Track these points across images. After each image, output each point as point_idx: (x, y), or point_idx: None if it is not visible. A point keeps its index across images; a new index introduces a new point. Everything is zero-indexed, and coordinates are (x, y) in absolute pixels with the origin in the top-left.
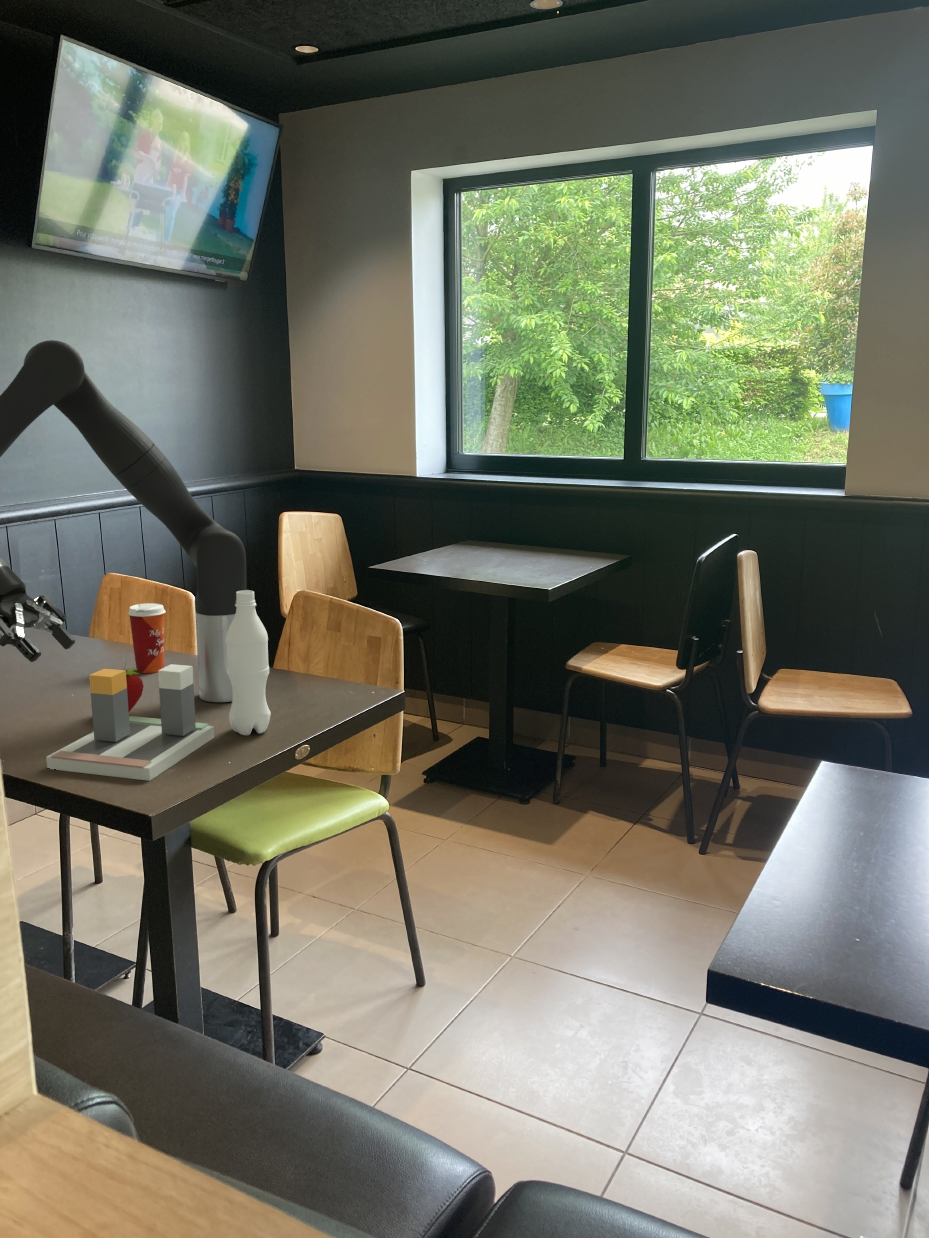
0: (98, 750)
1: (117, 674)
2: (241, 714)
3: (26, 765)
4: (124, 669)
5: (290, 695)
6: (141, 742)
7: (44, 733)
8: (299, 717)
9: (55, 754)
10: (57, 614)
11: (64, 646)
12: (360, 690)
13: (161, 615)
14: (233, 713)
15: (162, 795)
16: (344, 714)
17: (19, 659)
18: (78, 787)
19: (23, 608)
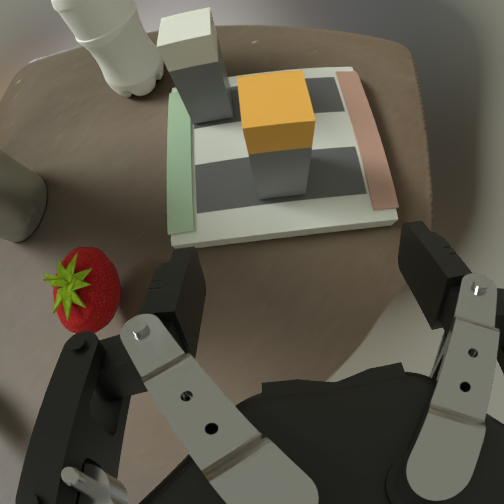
0: (338, 158)
1: (275, 72)
2: (157, 52)
3: (395, 269)
4: (64, 279)
5: (20, 136)
6: None
7: (256, 366)
8: (89, 75)
9: (390, 204)
10: (91, 373)
11: (202, 293)
12: (12, 93)
13: None
14: (151, 65)
15: (371, 52)
16: (79, 53)
17: None
18: (412, 139)
19: (343, 487)
